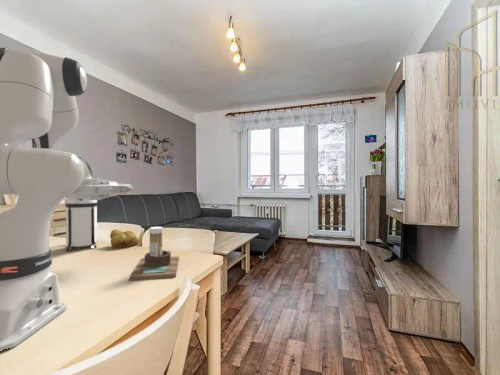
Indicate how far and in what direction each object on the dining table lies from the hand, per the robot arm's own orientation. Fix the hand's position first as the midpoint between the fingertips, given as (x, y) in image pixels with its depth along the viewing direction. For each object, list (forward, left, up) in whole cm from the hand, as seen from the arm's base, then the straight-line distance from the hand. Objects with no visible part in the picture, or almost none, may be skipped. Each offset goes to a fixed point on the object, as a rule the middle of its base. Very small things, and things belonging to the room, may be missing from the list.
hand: (121, 189), depth 95 cm
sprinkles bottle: (-8, -14, -27) cm, 31 cm away
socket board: (-9, -14, -28) cm, 33 cm away
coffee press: (+29, +25, -28) cm, 47 cm away
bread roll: (+27, +5, -28) cm, 39 cm away
